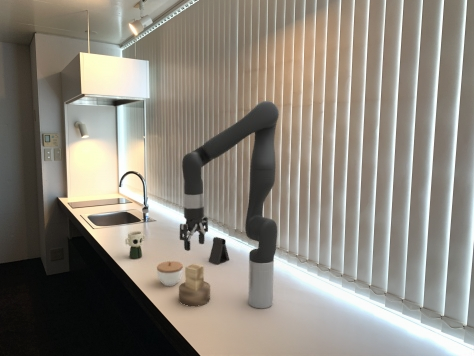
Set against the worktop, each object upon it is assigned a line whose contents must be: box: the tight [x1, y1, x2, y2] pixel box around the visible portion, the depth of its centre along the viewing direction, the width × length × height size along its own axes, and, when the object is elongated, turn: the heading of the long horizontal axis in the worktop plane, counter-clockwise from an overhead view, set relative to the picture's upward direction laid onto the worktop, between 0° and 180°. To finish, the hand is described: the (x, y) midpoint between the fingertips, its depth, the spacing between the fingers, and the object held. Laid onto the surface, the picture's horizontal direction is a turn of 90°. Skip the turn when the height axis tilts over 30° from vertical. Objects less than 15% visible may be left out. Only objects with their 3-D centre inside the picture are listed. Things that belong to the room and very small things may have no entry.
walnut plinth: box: [178, 280, 211, 307], centre depth 136 cm, size 12×12×5 cm
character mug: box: [125, 230, 146, 259], centre depth 180 cm, size 11×7×13 cm, turn 136°
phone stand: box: [208, 236, 230, 266], centre depth 176 cm, size 9×6×12 cm, turn 138°
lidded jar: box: [156, 260, 184, 287], centre depth 150 cm, size 11×11×9 cm
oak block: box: [184, 263, 205, 291], centre depth 135 cm, size 5×5×8 cm
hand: (194, 246), depth 134 cm, fingers open, 8 cm apart
